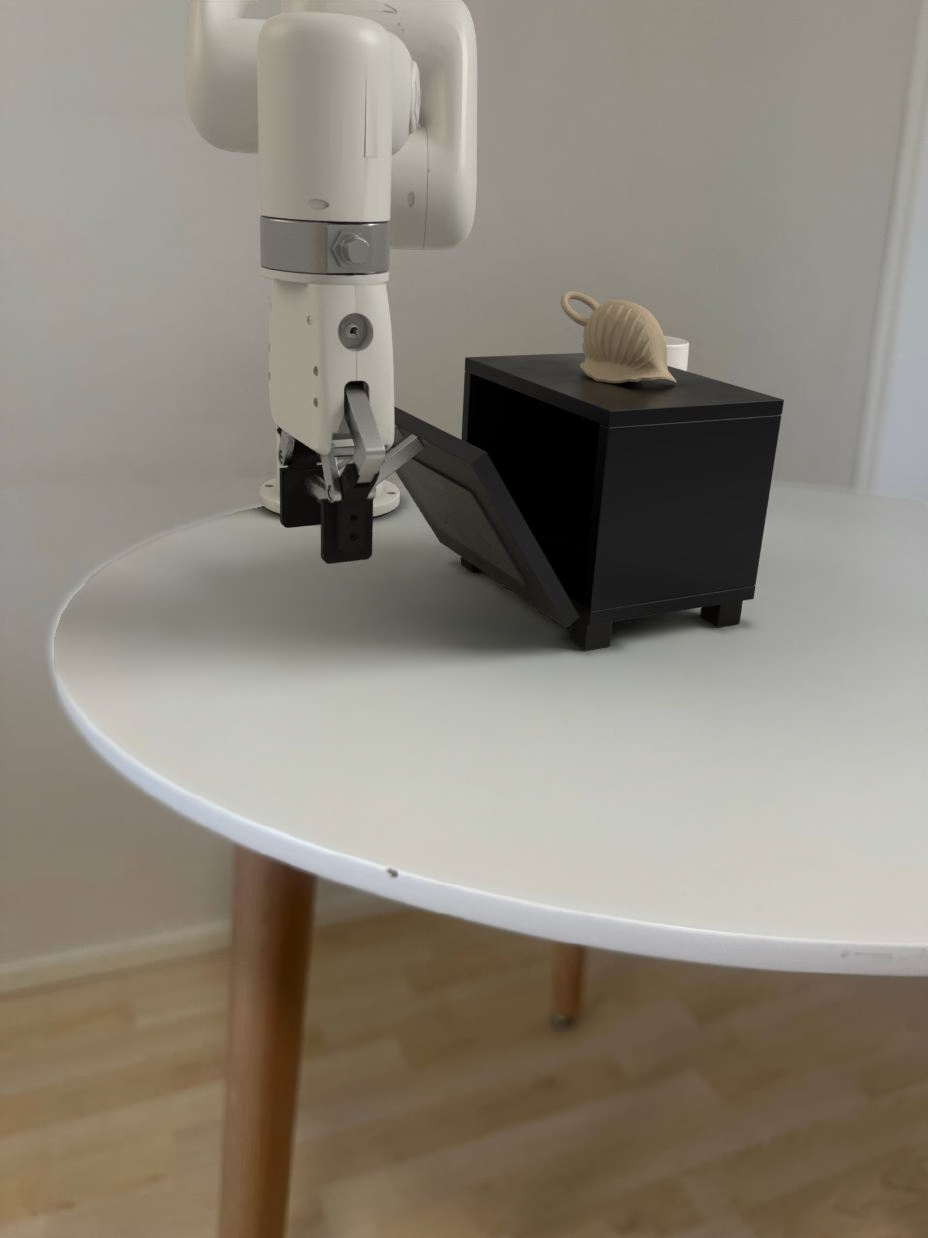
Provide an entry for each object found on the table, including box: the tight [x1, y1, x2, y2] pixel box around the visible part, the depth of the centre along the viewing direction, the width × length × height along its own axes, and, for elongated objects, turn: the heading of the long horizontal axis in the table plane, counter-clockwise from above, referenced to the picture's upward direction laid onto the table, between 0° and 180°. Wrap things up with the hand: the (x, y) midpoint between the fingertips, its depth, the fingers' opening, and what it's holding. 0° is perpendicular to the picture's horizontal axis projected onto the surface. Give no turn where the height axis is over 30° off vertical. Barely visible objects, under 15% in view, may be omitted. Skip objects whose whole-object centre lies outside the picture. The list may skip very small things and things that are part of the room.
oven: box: [460, 352, 785, 651], centre depth 83 cm, size 14×19×16 cm
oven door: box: [303, 405, 579, 629], centre depth 77 cm, size 8×18×14 cm
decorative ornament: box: [560, 291, 676, 383], centre depth 79 cm, size 4×8×5 cm, turn 44°
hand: (324, 539), depth 74 cm, fingers open, 6 cm apart
